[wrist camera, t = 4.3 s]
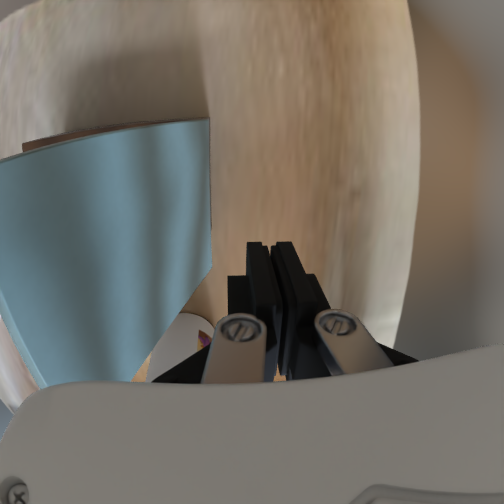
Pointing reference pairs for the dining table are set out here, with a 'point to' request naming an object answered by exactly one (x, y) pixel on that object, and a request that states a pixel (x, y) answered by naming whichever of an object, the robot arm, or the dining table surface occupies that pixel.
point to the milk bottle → (179, 343)
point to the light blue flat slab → (102, 247)
